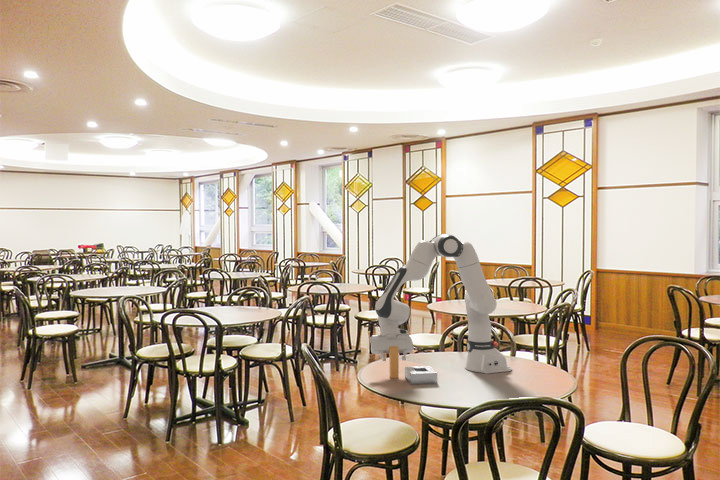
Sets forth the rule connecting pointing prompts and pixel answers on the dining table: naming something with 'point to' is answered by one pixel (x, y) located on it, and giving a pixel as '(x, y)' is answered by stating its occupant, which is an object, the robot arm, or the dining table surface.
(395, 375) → the rectangular peg
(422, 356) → the dining table surface
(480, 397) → the dining table surface
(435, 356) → the dining table surface
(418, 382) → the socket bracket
